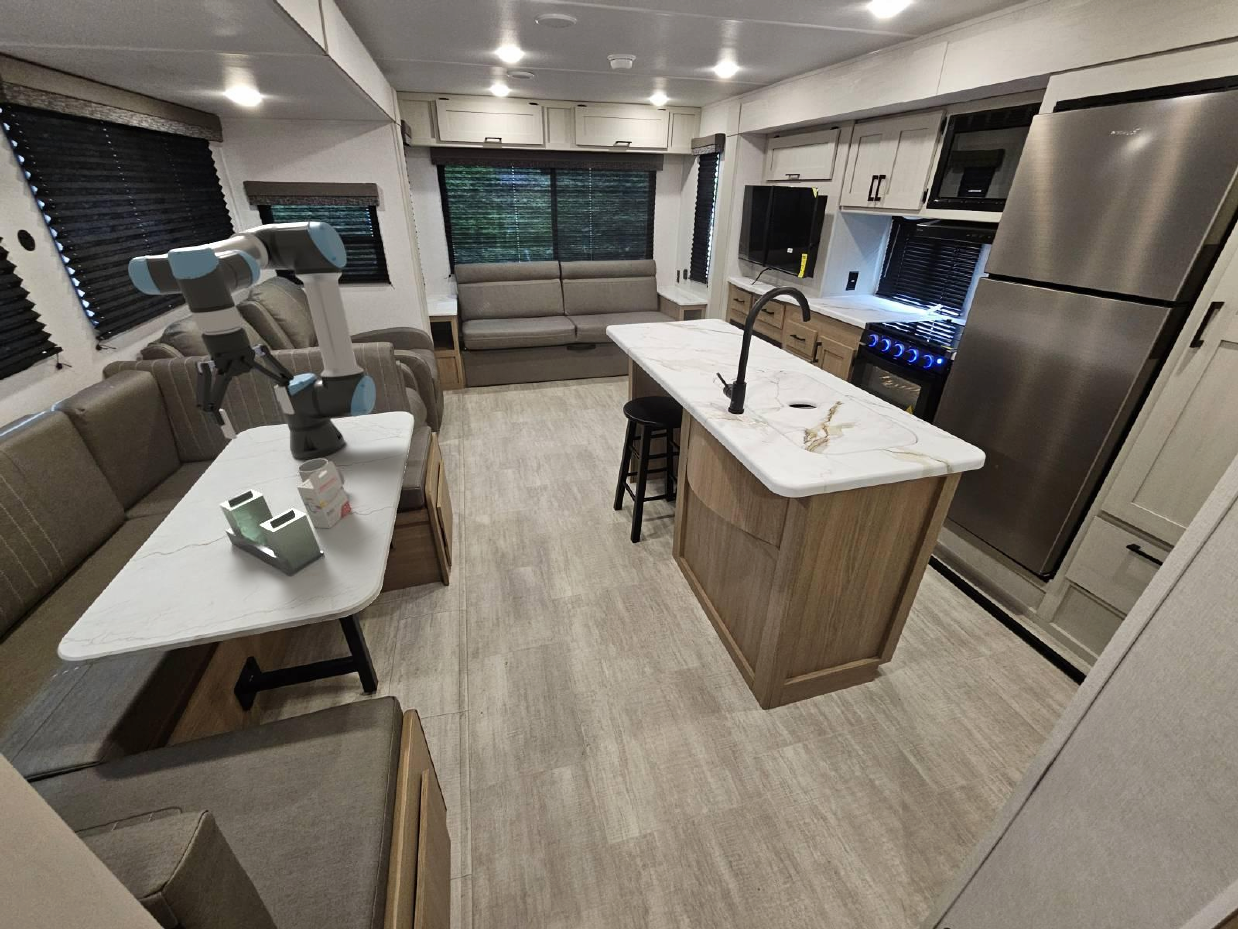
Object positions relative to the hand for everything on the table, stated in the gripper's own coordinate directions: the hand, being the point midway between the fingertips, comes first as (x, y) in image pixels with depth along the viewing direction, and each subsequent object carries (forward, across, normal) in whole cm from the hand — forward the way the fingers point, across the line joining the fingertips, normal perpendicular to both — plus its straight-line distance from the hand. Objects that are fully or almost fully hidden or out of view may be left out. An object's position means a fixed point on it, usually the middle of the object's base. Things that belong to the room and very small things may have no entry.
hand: (261, 425), depth 116 cm
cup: (+27, -13, -6) cm, 31 cm away
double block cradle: (+27, +9, +4) cm, 29 cm away
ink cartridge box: (+27, -4, +5) cm, 28 cm away
